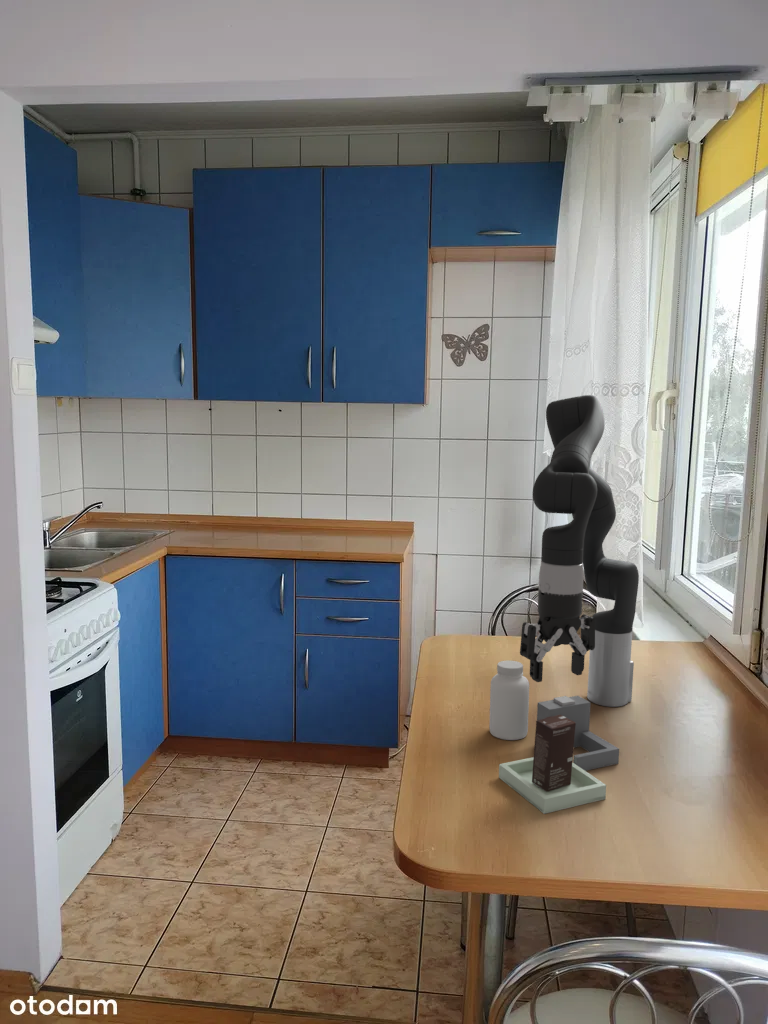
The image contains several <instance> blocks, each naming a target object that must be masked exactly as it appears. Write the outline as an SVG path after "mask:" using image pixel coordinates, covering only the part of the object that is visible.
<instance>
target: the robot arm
mask: <svg viewBox="0 0 768 1024" xmlns="http://www.w3.org/2000/svg"><path fill="white" fill-rule="evenodd" d="M604 414H605V413H604V409H603V405H602V403H601V400H600V399H599V398H598V397H597V396H595V395H593V394H584V395H578V396H573V397H568V398H562V399H558V400H553V401H551V402H549V403H548V404H547V406H546V408H545V420H546V425H547V428H548V429H547V430H548V433H549V436H550V439H551V442H552V445H553V449H554V450H553V451H552V454H551V456H550V457H551V458H550V460H549V461H550V462H549V464H548V465H546V466H545V467H544V469H543V470H542V471H540V472H539V474H538V475H537V477H536V479H535V482H534V484H533V487H532V500H533V503H534V505H535V507H536V508H537V509H538V510H540V511H541V512H544V513H546V514H547V513H548V514H562V515H563V514H564V515H565V514H567V515H571V516H572V520H571V521H570V522H569V523H566V524H563V525H561V524H560V525H555V526H549V527H547V528H545V529H544V530H543V532H542V535H541V536H542V537H541V554H540V555H541V557H540V567H539V572H538V573H539V574H538V593H537V595H538V597H537V613H538V620H537V622H536V623H529V622H527V621H524V622H523V623H522V626H521V638H520V649H519V655H520V656H522V657H524V658H526V659H527V660H529V676H530V678H531V679H532V681H534V682H536V683H541V682H543V671H544V670H543V668H544V666H543V665H544V661H542V660H543V659H544V658H545V656H546V654H547V653H549V652H550V651H551V650H552V649H553V647H559V646H560V645H564V646H565V645H569V646H570V648H571V650H572V652H571V663H570V665H571V666H570V671H571V673H572V674H574V675H576V676H581V675H583V671H584V669H585V659H586V658H585V657H586V656H585V655H586V654H587V652H588V651H589V657H588V659H589V660H588V674H587V675H588V676H587V677H588V678H587V693H586V694H587V695H586V697H587V701H589V702H591V703H593V704H595V705H600V706H603V707H613V708H615V707H623V706H625V705H627V704H628V703H629V702H632V701H633V700H632V697H633V683H634V668H635V667H634V665H635V663H634V661H633V660H632V659H631V658H632V645H633V644H632V643H633V642H632V641H633V640H632V639H633V627H634V621H635V617H636V616H635V615H636V610H637V597H638V591H639V581H640V580H639V579H640V576H639V570H638V566H637V565H636V564H635V563H633V562H630V561H625V560H619V559H614V558H613V559H612V558H607V557H606V556H605V553H604V548H603V543H604V541H605V539H606V538H607V535H608V534H609V532H610V531H611V529H612V527H613V525H614V523H615V521H616V516H617V510H616V504H615V500H614V496H613V491H612V488H611V486H610V484H609V483H608V482H607V481H606V480H605V478H603V476H602V475H600V473H598V472H597V471H596V470H595V469H594V468H592V467H591V461H592V460H591V459H592V456H593V454H594V452H595V450H596V449H597V447H598V445H599V443H600V441H601V439H602V437H603V434H604V431H605V424H606V422H605V415H604ZM584 580H585V584H586V588H587V591H588V592H589V593H590V594H591V595H592V596H593V597H596V598H598V599H599V598H600V599H605V600H609V601H610V600H611V601H614V605H613V608H612V609H609V610H602V611H598V612H595V613H594V614H593V615H592V616H590V615H586V614H582V613H583V597H584V596H583V595H584ZM579 629H580V636H579V634H578V633H577V632H578V631H579ZM543 642H545V643H543Z"/></svg>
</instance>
